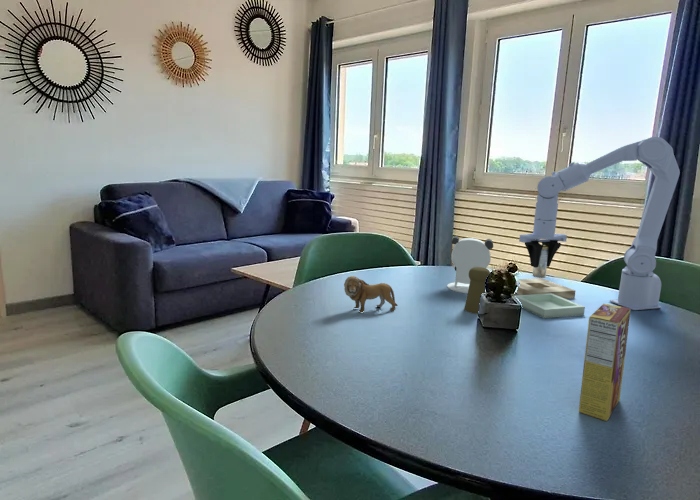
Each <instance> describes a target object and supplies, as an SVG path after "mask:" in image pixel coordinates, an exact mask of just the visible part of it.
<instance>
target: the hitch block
mask: <svg viewBox="0 0 700 500" xmlns="http://www.w3.org/2000/svg"><path fill="white" fill-rule="evenodd" d="M518 279H519V278H518ZM519 282H520V286H519V287H518V290H517V294H516V295H532V294H548V293H552V294H554V295H557V296H559V297H562V298H564V299H567V300H569V299H575V297H576V290H575V289H572V288H569V287H566V286H564V285H561V284H558V283H555V282H553V281H550V280H548V279H545V278H537V277H535V278H522V279H521V278H520V279H519Z"/></svg>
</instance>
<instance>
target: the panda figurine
mask: <svg viewBox="0 0 700 500" xmlns="http://www.w3.org/2000/svg"><path fill="white" fill-rule="evenodd" d="M451 244H452V245H453V248H452V250H451V256H450V257H451V263H452V264H453V266H454V272H455V280H454V282H449V283H448V284H447V285H446V287H447V289H448V290H450V291H452V292H456V293H461V294H462V293H463V294H468V289H469V285H470V278H469V271H470V269H471V268H473V267H483V268H486V269H487V268H488V266H489V265H490V263H491V260H492V259H491V258H492V257H491V252H490V250H492V249H493V248H494V242H493V240H492V239H491V238H487V239H485V241H482V240H481V239H478V238H475V237H466V238H461V239H460V237H459V236H458V235H454V236H453V237H452V239H451Z"/></svg>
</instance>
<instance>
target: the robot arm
mask: <svg viewBox="0 0 700 500" xmlns="http://www.w3.org/2000/svg"><path fill="white" fill-rule="evenodd" d="M674 154H675V153H674V148H673V147H672V145H670V144H669V143H668V141H667V140H665V139H664V138H662V137H660V136H650V137H648V138H647V137H646V138H644V139H642V140H640V141H636V142H632V143H629V144H625V145H623V146H620V147H618V148H616V149H614V150H612V151H610V152H608V153H606V154H604V155H602V156H600V157H598V158H595V159H593V160H592V161H589V162H588V163H584V162H581V161H578V162H570V163H568V166H566V167H564V168H562V169H560V170H558V171H552V172H551V175H552V176H551V175H547V176H545V177H544V178H541V179H540V181H539V182H538V183H537V187H536V189H537V193H538V194H537V197H536V204H535V210H534V211H535V212H534V218H533V219H534V221H533V230H532V233H527V234H525V233H524V234H519V239H518V241H519V243H524V245H525V247H526V249H527V252H528V256H529V261H530V267H532V268H533V267H535V268H536V267H538V264H539V257H540V253H541V250H542V248H543V245H547V246H549V251H548V260H547V268H550V266H551V263H552V262H553V258H554V257H555V254H556V253H557V252H558V250H559V249H560V248H561V245H562V243H561V242H567V237H568V234H564V233H556V227H557V226H556V224H557V215H558V210H559V209H558V208H559V203H558V197H559V193H560V192H561V191H563V192H566V191H568V190H570V189H573V188H575V187H578V186H580V185H582V184H584V183H587V182H588V181H589V179H590V178H591V175H593V174H595V173H597V172H600V171H602V170H604V169H606V168H609V167H612V166H614V165H617V164H619V163H621V162H633V161H638V162H639V163H642V165H645V166H646V167H647V168H648V169H649V171H650V172H651V173H652V174H653V175H654V181H653V184H652V186H651V189H650V192H649V195H648V198H647V202H646V205H645V209H644V212H643V214H642V217H641V220H640V224H639V225H638V229H637V232H636V236H634V239H633V241H632V244H631V246H630V247H628V248H627V250H626V251H625V252H624V254H623V260H624V263H625V264H626V266H625V267H624V268H622V270H621V277H620V283H619V288H618V296H617V299H610V300H609V302H610V303H611V304H612V303H613V304H616V305H617V306H618V305H619V306H620V307H625V308H630V309H631V310H633V311H640V310H642V311H643V310H656V309H661V308H662V306H661V305H659V303H660V302H659V301H660V296H661V289H662V281H661V278H660V277H659V276H658V275H657V274H656V273H654V270H656V269H655V268H656V267H657V260H656V252H657V250H658V249H657V248H658V239H659V237H660V233H661V230H662V227H663V225H664V222H665V219H666V215H667V213H668V210H669V207H670V203H671V202H672V199H673V195H674V193H675V190H676V187H677V183H678V181H679V177H680V173H681V172H680V171H681V170H680V168H679V165H678V162H677V160H676V157H675V155H674Z"/></svg>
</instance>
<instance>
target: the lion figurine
mask: <svg viewBox="0 0 700 500" xmlns="http://www.w3.org/2000/svg"><path fill="white" fill-rule="evenodd" d="M343 286H344V293H345V295H346V296H348V297H349V298H350V299H351V300H352V301H354V303H355V306H354V307H353V308H360V309H358V312H359V311H360V312H363V311H364V312H365V307H366V306H365V304H366V301H367V300H375V299H377V298H378V297H379V299H380V303H379V304H376V306H377V307H381V308H382V307H383V306H384V305H385V304H386V302H387V303H389V304H390V305H391V307H390V308H389V311H391V312H395V311H396V307H398V304H397V303H396V299H395V293H394V290H393V288H392V286H391V285H389V284H388V283H385V282H384V283H383V282H381V283H377V284H376V283H375V284H369V283H367V282H366V281H365V280H363V279H360V277H357V276H355V275H354V276H351V275H350V276H347V278H346V279H345V281H344V284H343ZM377 307H376V308H377ZM394 310H395V311H394ZM364 312H363V313H364Z"/></svg>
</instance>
